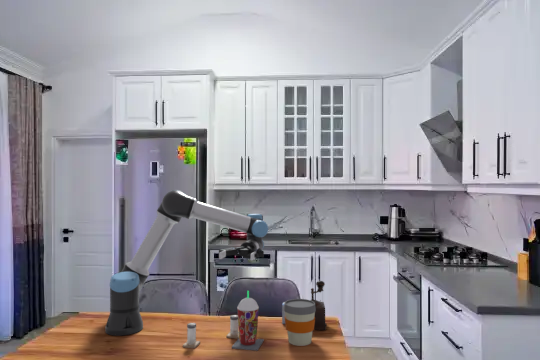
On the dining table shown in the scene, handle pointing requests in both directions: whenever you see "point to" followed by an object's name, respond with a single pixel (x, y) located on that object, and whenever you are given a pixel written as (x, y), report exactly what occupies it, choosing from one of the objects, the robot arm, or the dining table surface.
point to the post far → (233, 327)
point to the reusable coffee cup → (299, 321)
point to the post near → (191, 336)
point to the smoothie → (248, 320)
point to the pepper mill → (319, 309)
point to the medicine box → (283, 314)
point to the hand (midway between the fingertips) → (235, 256)
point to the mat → (248, 347)
